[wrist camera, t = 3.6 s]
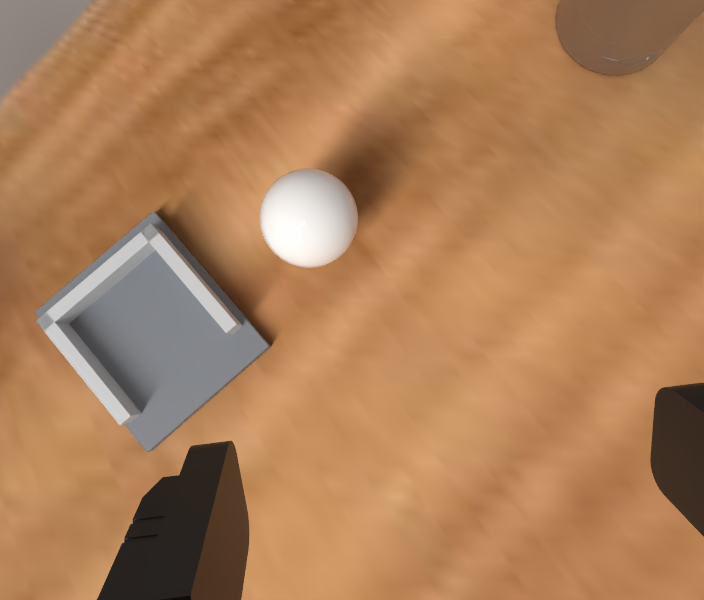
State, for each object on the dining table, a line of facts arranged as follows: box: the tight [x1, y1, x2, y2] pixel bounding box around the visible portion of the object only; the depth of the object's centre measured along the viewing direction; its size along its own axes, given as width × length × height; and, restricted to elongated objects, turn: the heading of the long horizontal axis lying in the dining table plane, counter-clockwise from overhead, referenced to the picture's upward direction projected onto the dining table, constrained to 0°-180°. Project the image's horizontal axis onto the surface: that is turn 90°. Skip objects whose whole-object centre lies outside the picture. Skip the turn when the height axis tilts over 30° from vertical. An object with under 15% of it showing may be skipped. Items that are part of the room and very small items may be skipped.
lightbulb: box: [260, 168, 358, 268], centre depth 39 cm, size 6×6×11 cm
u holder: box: [35, 211, 271, 452], centre depth 42 cm, size 14×12×3 cm
